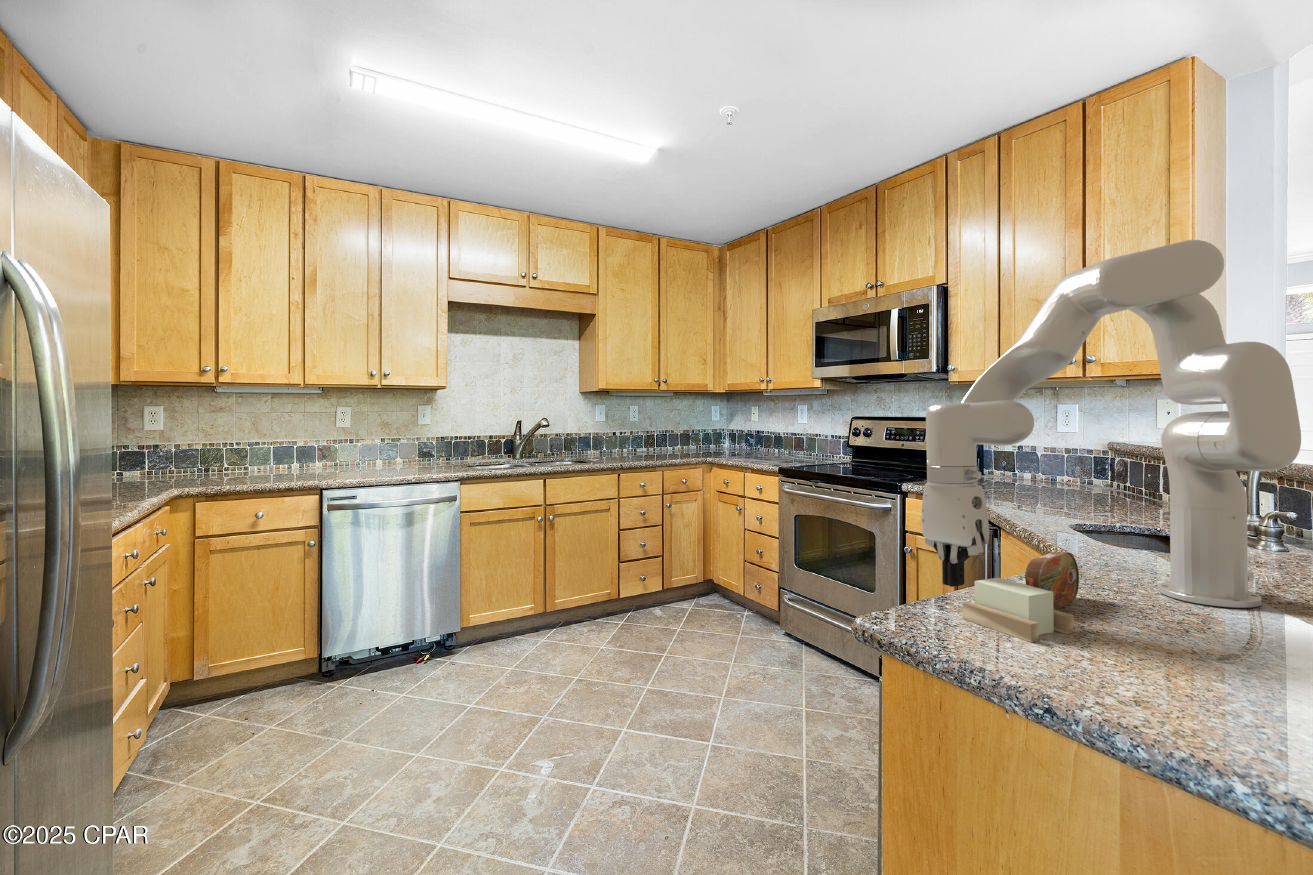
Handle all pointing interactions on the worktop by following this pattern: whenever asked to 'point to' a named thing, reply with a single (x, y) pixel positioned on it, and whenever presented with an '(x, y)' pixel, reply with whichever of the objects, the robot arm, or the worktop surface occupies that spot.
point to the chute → (1013, 621)
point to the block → (1017, 601)
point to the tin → (1055, 576)
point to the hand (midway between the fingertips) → (953, 584)
